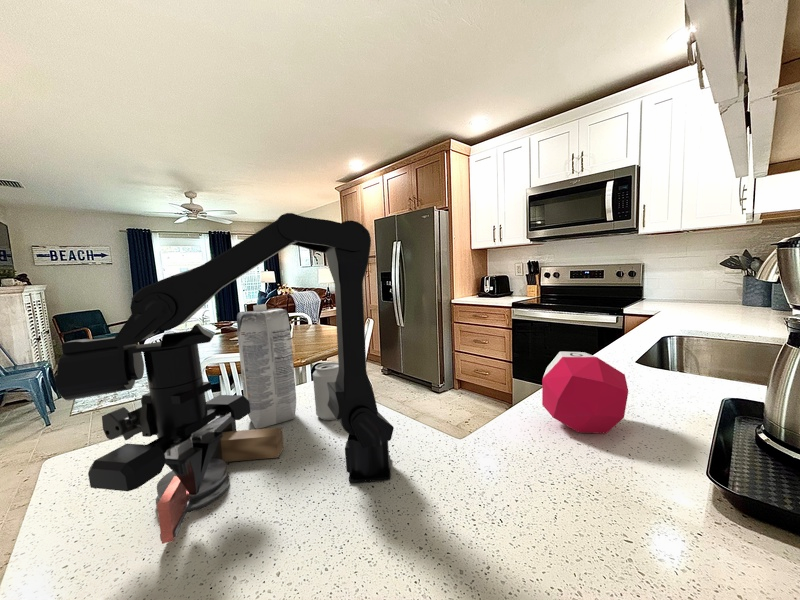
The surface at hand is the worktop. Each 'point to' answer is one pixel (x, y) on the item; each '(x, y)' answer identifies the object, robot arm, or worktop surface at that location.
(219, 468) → the handwheel
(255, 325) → the juice carton
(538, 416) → the worktop surface
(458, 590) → the worktop surface
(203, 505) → the disc
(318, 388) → the can
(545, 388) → the decorative object
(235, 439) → the brown rectangular bar
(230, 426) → the iron eye
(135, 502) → the worktop surface
